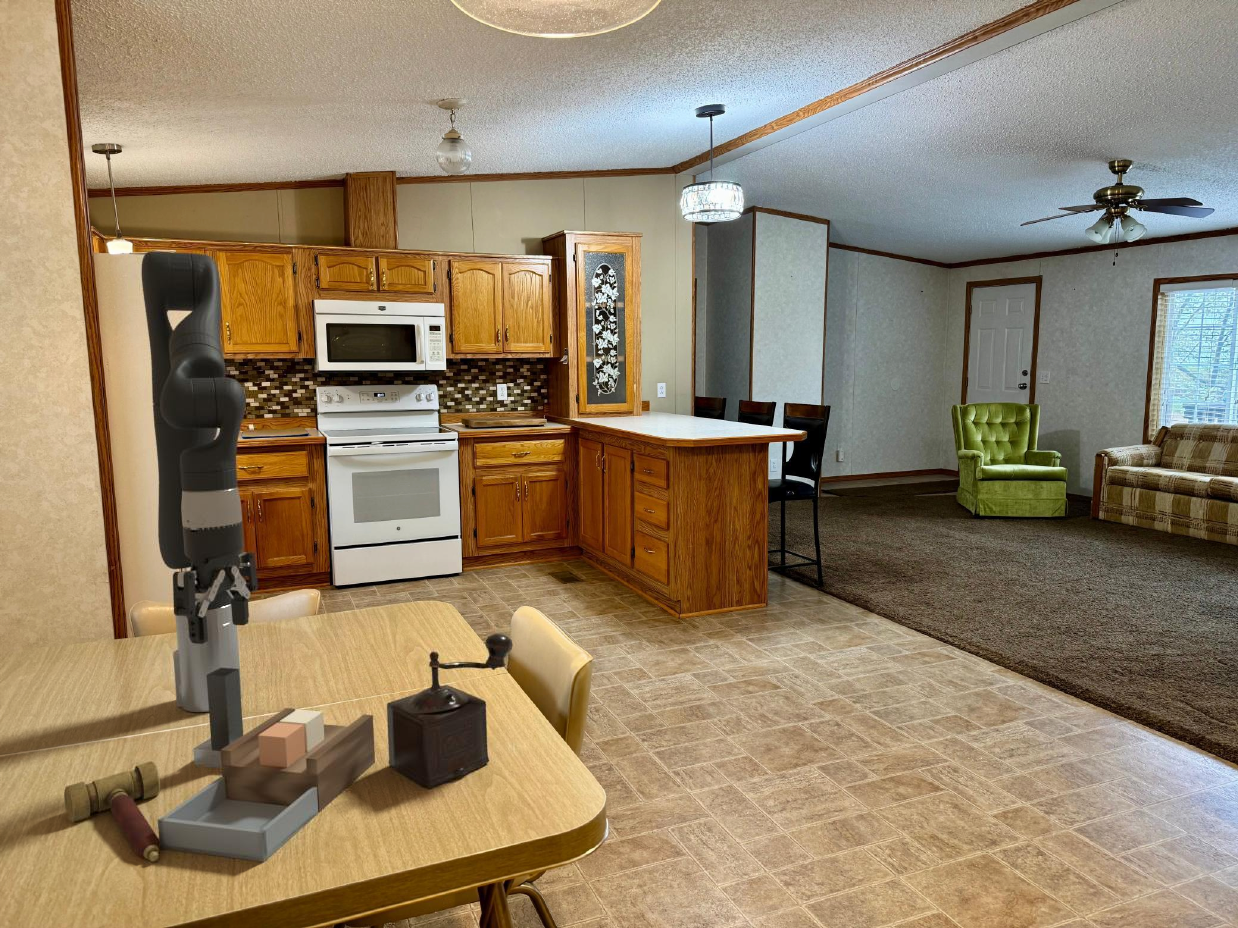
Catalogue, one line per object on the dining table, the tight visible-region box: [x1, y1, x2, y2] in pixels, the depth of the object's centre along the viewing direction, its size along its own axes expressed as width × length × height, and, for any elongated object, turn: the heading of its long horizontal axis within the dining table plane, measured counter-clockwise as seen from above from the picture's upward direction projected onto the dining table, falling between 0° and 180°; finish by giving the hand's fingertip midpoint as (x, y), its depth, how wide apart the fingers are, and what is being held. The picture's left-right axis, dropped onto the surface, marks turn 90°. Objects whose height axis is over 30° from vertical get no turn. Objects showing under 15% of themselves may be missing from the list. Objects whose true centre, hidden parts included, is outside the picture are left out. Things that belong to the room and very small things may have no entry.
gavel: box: [63, 761, 161, 862], centre depth 103 cm, size 21×5×10 cm
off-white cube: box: [280, 709, 325, 752], centre depth 114 cm, size 4×4×4 cm
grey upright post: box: [192, 668, 244, 769], centre depth 120 cm, size 9×4×14 cm, turn 77°
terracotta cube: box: [258, 723, 305, 767], centre depth 110 cm, size 4×4×4 cm
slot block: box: [220, 707, 376, 813], centre depth 114 cm, size 14×14×7 cm
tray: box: [157, 776, 319, 863], centre depth 102 cm, size 14×11×4 cm
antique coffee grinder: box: [386, 633, 513, 790], centre depth 119 cm, size 16×11×18 cm
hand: (220, 633), depth 118 cm, fingers open, 8 cm apart
